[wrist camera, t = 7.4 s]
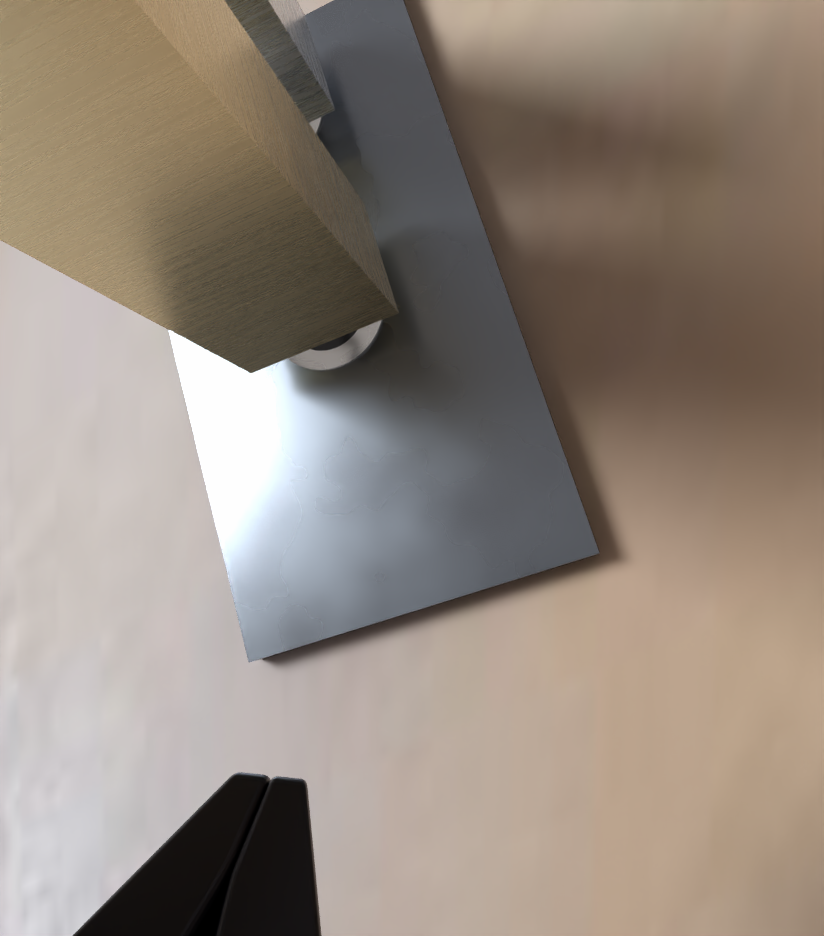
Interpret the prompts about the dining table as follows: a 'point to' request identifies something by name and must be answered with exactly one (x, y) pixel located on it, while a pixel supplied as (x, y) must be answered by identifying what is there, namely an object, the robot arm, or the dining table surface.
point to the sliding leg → (179, 177)
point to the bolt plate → (381, 377)
